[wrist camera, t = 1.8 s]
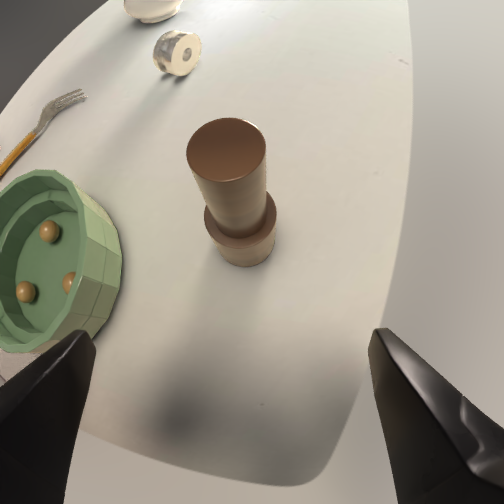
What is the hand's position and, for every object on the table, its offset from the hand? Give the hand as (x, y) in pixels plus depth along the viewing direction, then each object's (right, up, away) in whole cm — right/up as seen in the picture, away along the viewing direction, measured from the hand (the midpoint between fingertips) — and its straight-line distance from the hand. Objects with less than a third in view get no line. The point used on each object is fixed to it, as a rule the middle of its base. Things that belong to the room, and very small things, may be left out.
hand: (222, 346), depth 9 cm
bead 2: (-17, +4, +15) cm, 23 cm away
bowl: (-16, +1, +15) cm, 22 cm away
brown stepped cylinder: (0, +4, +15) cm, 15 cm away
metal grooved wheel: (-7, +23, +20) cm, 31 cm away
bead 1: (-19, -1, +14) cm, 23 cm away
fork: (-26, +15, +19) cm, 36 cm away
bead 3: (-13, 0, +14) cm, 19 cm away
